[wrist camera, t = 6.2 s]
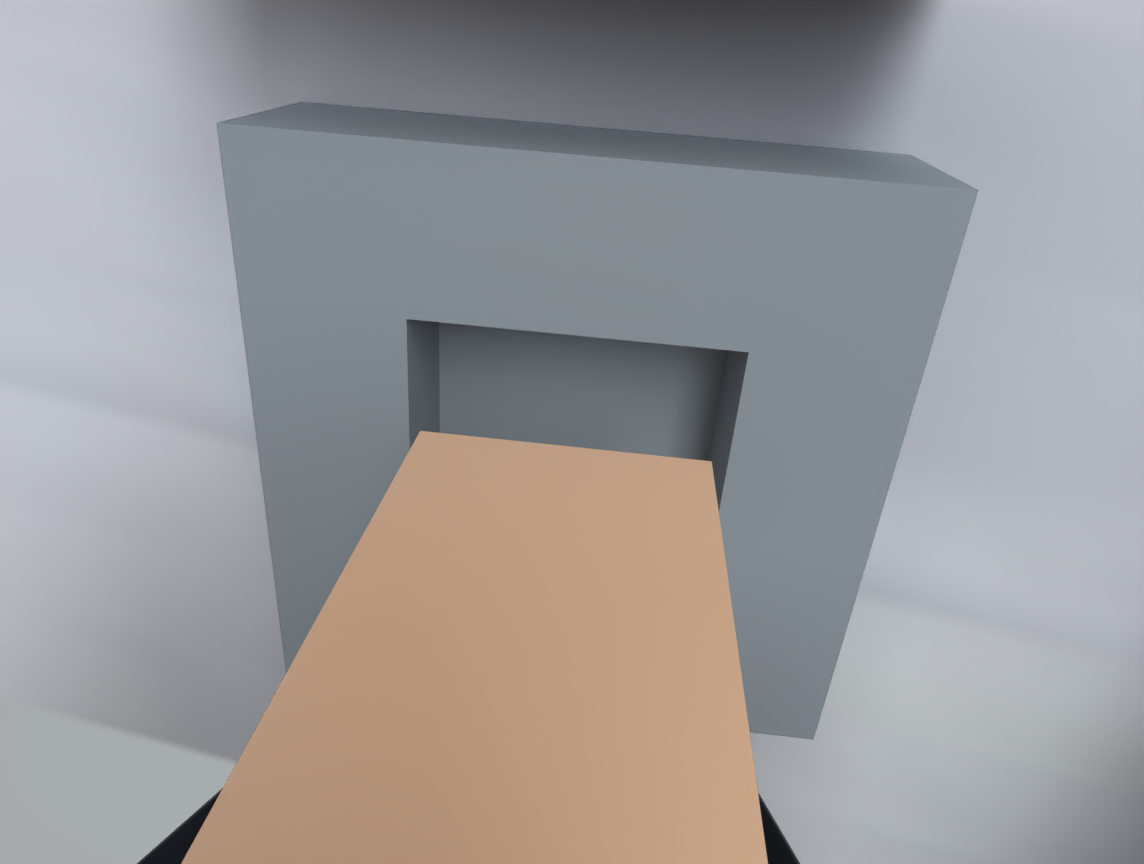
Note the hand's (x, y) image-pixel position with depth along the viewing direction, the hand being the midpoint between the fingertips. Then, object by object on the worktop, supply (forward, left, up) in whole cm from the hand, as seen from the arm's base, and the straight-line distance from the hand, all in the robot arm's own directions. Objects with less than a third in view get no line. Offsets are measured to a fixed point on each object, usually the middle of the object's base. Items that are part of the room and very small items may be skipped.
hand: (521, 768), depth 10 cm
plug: (0, 0, -4) cm, 4 cm away
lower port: (0, 0, -10) cm, 10 cm away
